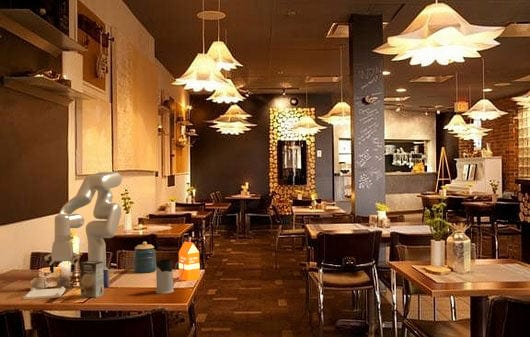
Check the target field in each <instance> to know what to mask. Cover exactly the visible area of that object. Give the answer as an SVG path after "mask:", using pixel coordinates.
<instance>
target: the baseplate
mask: <svg viewBox="0 0 530 337" xmlns="http://www.w3.org/2000/svg"><path fill="white" fill-rule="evenodd" d="M65 291H66V289H65V288H64V287H61V288H58V289H57V288H45V289H41V290H35V289H32V290H31V289H30V291H29V292H28V293H26V294H25V295H24V296H23V298H22V299H23V300H37V299H53V298H56V299H57V298H60V297H61V296H62V295H63V294H64V293H65Z"/></svg>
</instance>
